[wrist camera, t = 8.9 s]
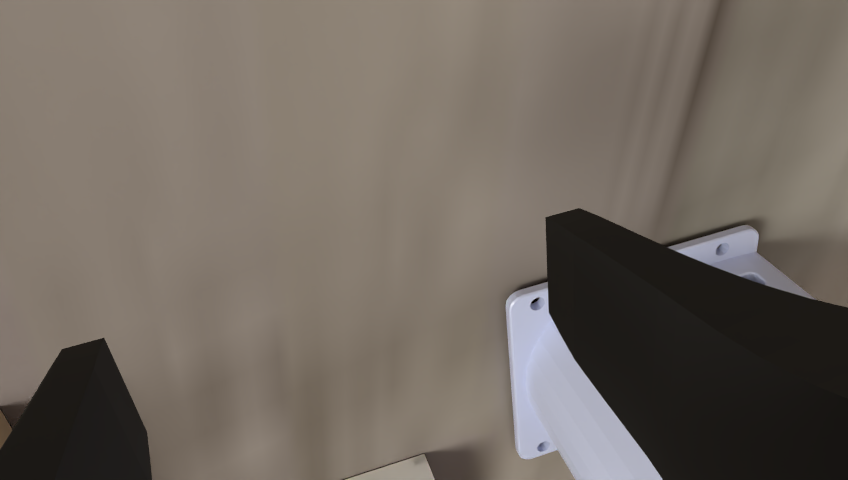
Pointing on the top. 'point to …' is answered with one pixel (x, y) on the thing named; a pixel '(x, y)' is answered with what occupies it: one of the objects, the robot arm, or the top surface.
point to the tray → (400, 471)
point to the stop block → (4, 429)
